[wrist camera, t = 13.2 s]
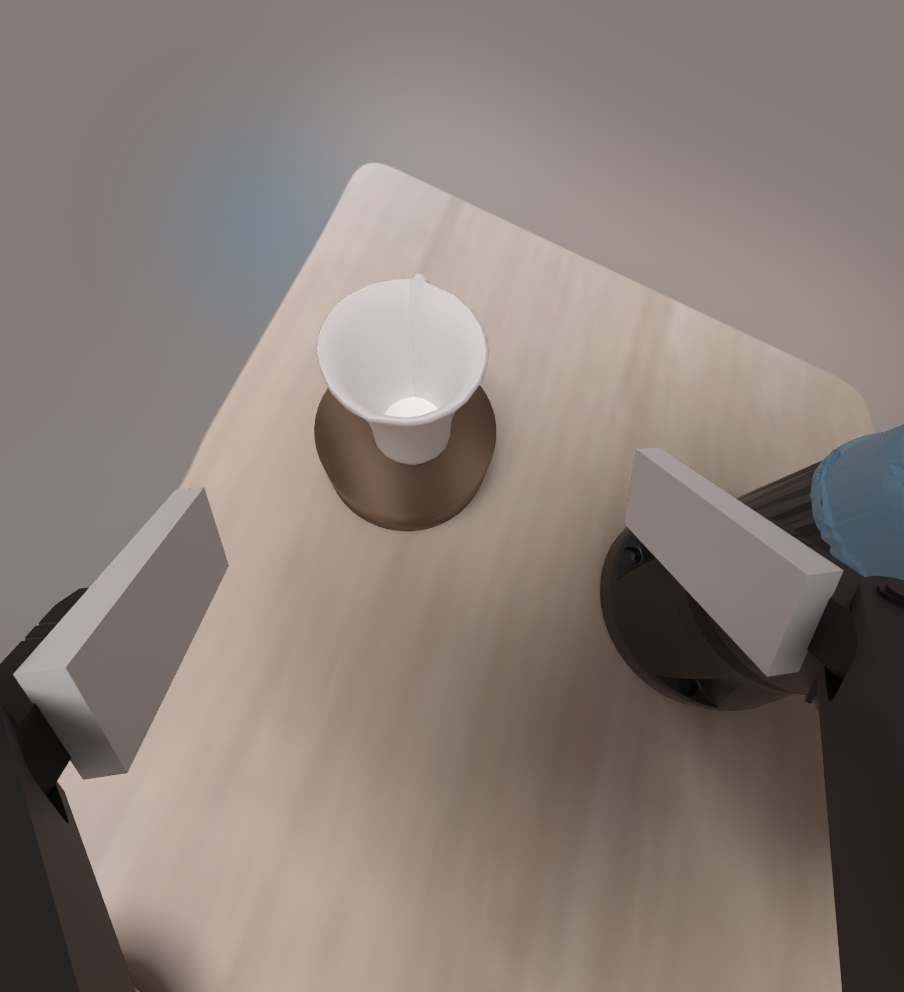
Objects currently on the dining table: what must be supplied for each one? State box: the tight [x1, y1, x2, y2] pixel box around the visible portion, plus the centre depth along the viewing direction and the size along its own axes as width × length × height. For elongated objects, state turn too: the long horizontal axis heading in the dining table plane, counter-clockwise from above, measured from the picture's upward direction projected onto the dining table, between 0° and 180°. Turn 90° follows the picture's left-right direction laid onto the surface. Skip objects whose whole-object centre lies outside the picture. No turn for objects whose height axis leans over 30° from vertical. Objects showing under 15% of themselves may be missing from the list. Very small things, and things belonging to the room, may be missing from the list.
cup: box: [316, 273, 489, 465], centre depth 28 cm, size 9×9×10 cm
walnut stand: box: [314, 385, 496, 531], centre depth 35 cm, size 13×13×5 cm
